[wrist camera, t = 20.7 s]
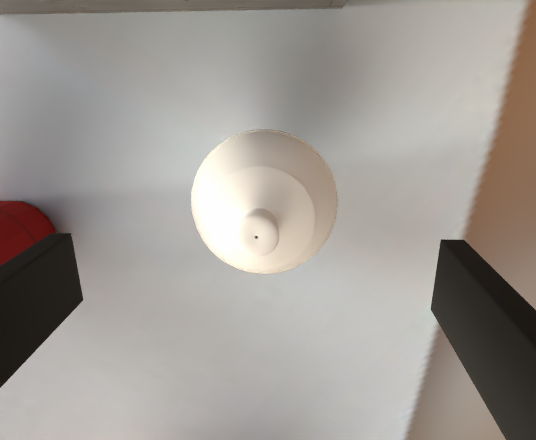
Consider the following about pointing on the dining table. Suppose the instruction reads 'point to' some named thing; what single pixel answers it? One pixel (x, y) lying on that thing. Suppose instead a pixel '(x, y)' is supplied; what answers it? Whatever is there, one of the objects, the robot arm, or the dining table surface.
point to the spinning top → (264, 201)
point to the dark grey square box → (156, 5)
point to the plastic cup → (20, 228)
